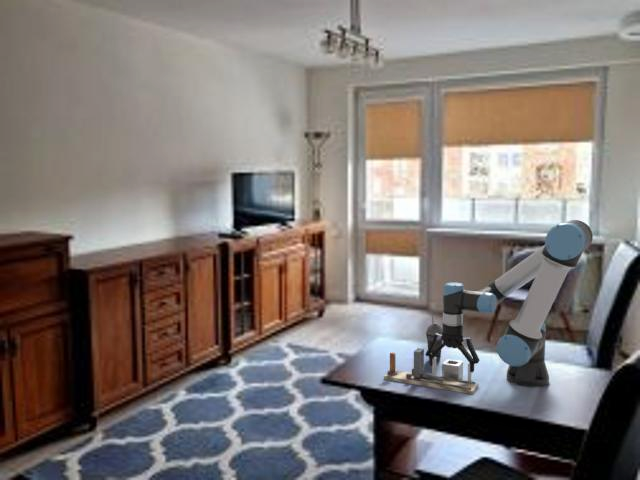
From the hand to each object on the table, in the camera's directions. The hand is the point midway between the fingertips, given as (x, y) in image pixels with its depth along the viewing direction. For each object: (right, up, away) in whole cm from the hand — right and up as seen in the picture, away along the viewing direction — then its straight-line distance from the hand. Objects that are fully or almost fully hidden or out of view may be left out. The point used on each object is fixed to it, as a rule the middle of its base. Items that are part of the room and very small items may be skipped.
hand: (451, 377), depth 222 cm
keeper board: (-9, -1, -5) cm, 11 cm away
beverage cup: (-3, +2, +19) cm, 20 cm away
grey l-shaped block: (-10, +1, -5) cm, 11 cm away
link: (0, 0, 0) cm, 0 cm away
